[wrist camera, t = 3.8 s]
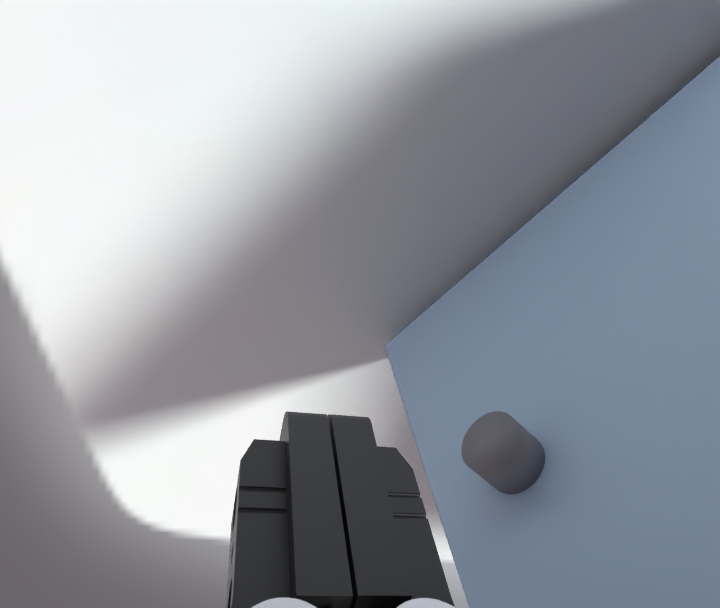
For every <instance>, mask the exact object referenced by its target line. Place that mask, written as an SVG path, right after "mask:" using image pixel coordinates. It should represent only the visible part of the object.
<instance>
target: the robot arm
mask: <svg viewBox="0 0 720 608" xmlns="http://www.w3.org/2000/svg"><path fill="white" fill-rule="evenodd" d="M226 608H456V607H455V606H454V603H453V601H452V598H451V595H450V592H449V588H448V585H447V582H446V579H445V575H444V572H443V568H442V565H441V562H440V559H439V555H438V552H437V549H436V545H435V542H434V539H433V535H432V532H431V529H430V525H429V522H428V519H426V512H425V509H424V505H423V502H422V499H421V498H420V492H419V489H418V485H417V482H416V479H415V475H414V472H413V469H412V468H411V467H410V465H409V464H408V463H407V462H406V460H405V459H404V458H403V457H402V455H401V454H400V453H399V452H398V450H397V449H396V448H390V447H377V445H376V441H375V437H374V433H373V428H372V424H371V421H370V419H369V418H368V417H356V416H342V415H328V416H327V415H326V414H312V413H298V412H286V413H285V415H284V419H283V425H282V430H281V436H280V441H272V440H256V439H254V440H253V442H252V444H251V445H250V447H249V448H248V450H247V451H246V453H245V454H244V456H243V457H242V459H241V461H240V468H239V475H238V482H237V489H236V496H235V503H234V510H233V517H232V524H231V539H230V555H229V570H228V585H227V601H226Z"/></svg>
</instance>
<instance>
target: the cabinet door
mask: <svg viewBox="0 0 720 608" xmlns="http://www.w3.org/2000/svg"><path fill="white" fill-rule="evenodd" d="M385 348H386V351H387V354H388V357H389V360H390V363H391V367H392V370H393V373H394V376H395V379H396V382H397V385H398V388H399V391H400V394H401V398H402V401H403V404H404V407H405V410H406V413H407V416H408V419H409V422H410V426H411V429H412V432H413V435H414V438H415V441H416V444H417V447H418V450H419V453H420V457H421V460H422V463H423V466H424V469H425V472H426V475H427V478H428V481H429V484H430V488H431V491H432V494H433V497H434V500H435V503H436V506H437V509H438V512H439V515H440V519H441V522H442V525H443V528H444V531H445V534H446V537H447V540H448V543H449V547H450V550H451V553H452V556H453V559H454V562H455V565H456V568H457V571H458V574H459V578H460V580H461V583H462V587H463V590H464V593H465V596H466V599H467V602H468V605H469V608H720V56H719V57H718V58H717V59H716V60H715V61H713V62H712V63H711V64H710V65H709V66H708V67H706V68H705V69H704V70H703V71H702V72H701V73H700V74H698V75H697V76H696V77H695V78H694V79H693V80H691V81H690V82H689V83H688V84H687V85H686V86H685V87H683V88H682V89H681V90H680V91H679V92H678V93H676V94H675V95H674V96H673V97H672V98H671V99H669V100H668V101H667V102H666V103H665V104H664V105H663V106H661V107H660V108H659V109H658V110H657V111H656V112H654V113H653V114H652V115H651V116H650V117H649V118H648V119H646V120H645V121H644V122H643V123H642V124H641V125H639V126H638V127H637V128H636V129H635V130H634V131H632V132H631V133H630V134H629V135H628V136H627V137H626V138H624V139H623V140H622V141H621V142H620V143H619V144H617V145H616V146H615V147H614V148H613V149H612V150H610V151H609V152H608V153H607V154H606V155H605V156H604V157H602V158H601V159H600V160H599V161H598V162H597V163H595V164H594V165H593V166H592V167H591V168H590V169H589V170H587V171H586V172H585V173H584V174H583V175H582V176H580V177H579V178H578V179H577V180H576V181H575V182H573V183H572V184H571V185H570V186H569V187H568V188H567V189H565V190H564V191H563V192H562V193H561V194H560V195H558V196H557V197H556V198H555V199H554V200H553V201H552V202H550V203H549V204H548V205H547V206H546V207H545V208H543V209H542V210H541V211H540V212H539V213H538V214H536V215H535V216H534V217H533V218H532V219H531V220H530V221H528V222H527V223H526V224H525V225H524V226H523V227H521V228H520V229H519V230H518V231H517V232H516V233H515V234H513V235H512V236H511V237H510V238H509V239H508V240H506V241H505V242H504V243H503V244H502V245H501V246H499V247H498V248H497V249H496V250H495V251H494V252H493V253H491V254H490V255H489V256H488V257H487V258H486V259H484V260H483V261H482V262H481V263H480V264H479V265H477V266H476V267H475V268H474V269H473V270H472V271H471V272H469V273H468V274H467V275H466V276H465V277H464V278H462V279H461V280H460V281H459V282H458V283H457V284H456V285H454V286H453V287H452V288H451V289H450V290H449V291H447V292H446V293H445V294H444V295H443V296H442V297H440V298H439V299H438V300H437V301H436V302H435V303H434V304H432V305H431V306H430V307H429V308H428V309H427V310H425V311H424V312H423V313H422V314H421V315H420V316H419V317H417V318H416V319H415V320H414V321H413V322H412V323H410V324H409V325H408V326H407V327H406V328H405V329H403V330H402V331H401V332H400V333H399V334H398V335H397V336H395V337H394V338H393V339H392V340H391V341H390V342H388V343H387V344H386V345H385Z"/></svg>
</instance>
